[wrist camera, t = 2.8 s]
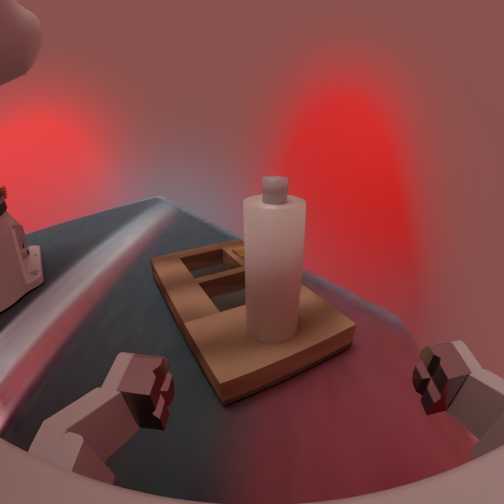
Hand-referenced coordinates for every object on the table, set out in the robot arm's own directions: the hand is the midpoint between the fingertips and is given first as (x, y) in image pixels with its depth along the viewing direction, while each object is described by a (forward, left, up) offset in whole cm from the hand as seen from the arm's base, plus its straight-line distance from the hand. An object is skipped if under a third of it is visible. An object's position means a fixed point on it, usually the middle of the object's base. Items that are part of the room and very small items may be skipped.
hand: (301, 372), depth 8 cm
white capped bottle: (-11, +6, -8) cm, 15 cm away
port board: (-18, +6, -11) cm, 22 cm away
